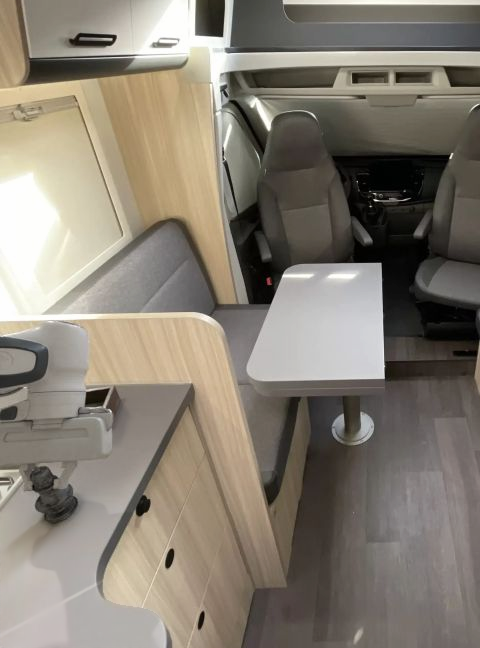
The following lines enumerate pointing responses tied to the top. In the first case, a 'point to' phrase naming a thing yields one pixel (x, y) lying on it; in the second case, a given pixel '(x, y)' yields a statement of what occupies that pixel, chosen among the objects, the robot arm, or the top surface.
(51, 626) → the top surface
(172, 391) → the top surface
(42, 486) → the dark grey chess piece
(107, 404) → the open brown box
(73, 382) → the robot arm
